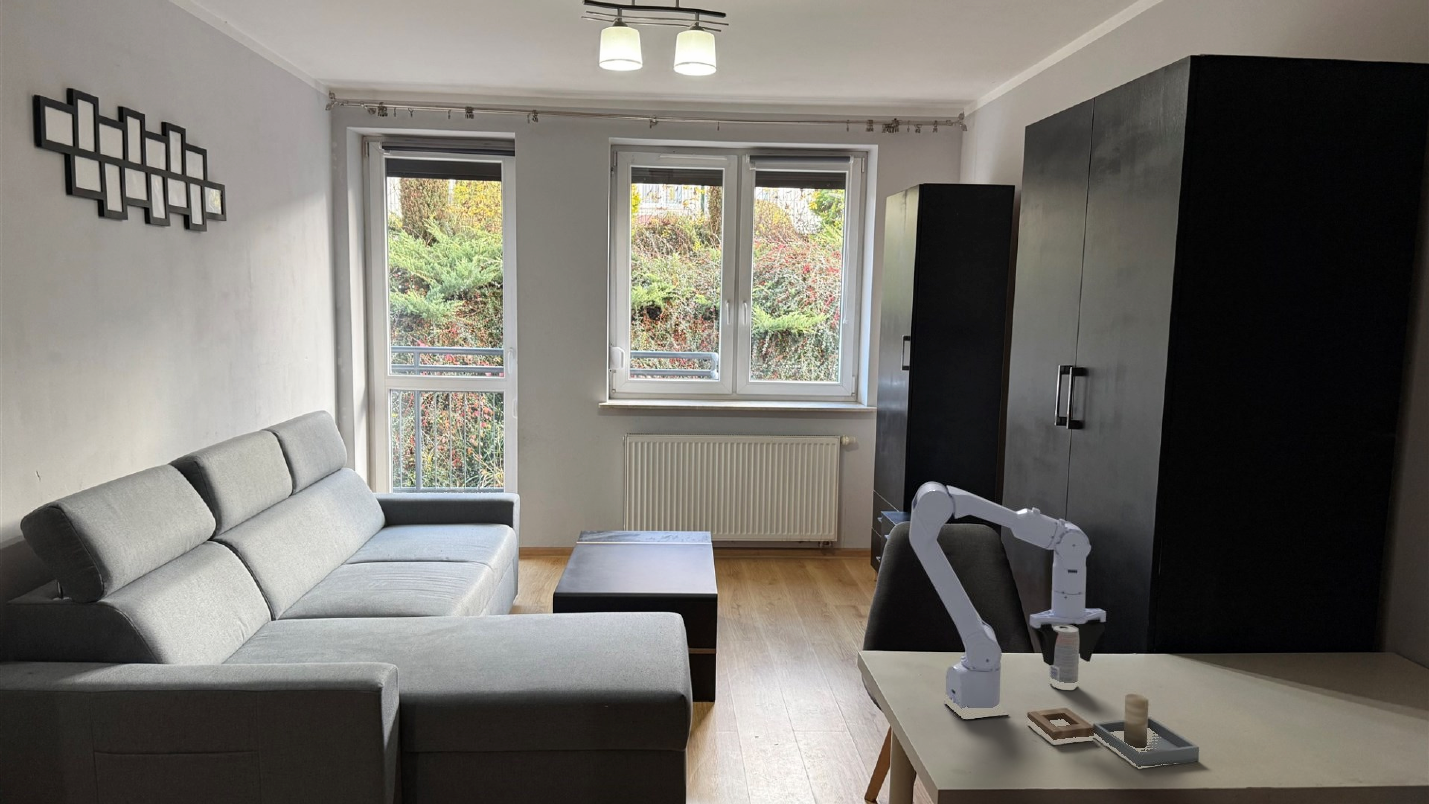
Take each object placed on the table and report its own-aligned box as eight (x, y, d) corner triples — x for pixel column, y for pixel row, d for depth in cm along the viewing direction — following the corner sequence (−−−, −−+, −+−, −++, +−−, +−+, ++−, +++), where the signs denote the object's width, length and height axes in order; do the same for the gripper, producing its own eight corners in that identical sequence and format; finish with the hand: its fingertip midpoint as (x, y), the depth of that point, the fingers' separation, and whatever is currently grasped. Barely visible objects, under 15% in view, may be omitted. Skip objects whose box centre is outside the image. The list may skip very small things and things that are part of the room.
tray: (1137, 769, 143) (1138, 754, 143) (1092, 737, 155) (1093, 723, 154) (1198, 761, 146) (1199, 747, 146) (1149, 730, 157) (1150, 716, 157)
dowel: (1133, 749, 149) (1135, 704, 148) (1118, 739, 152) (1120, 695, 152) (1151, 747, 150) (1153, 701, 149) (1136, 737, 153) (1138, 693, 152)
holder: (1053, 745, 151) (1053, 732, 151) (1027, 725, 159) (1027, 712, 159) (1093, 740, 153) (1094, 727, 153) (1066, 720, 161) (1066, 707, 161)
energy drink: (1073, 681, 179) (1074, 624, 178) (1081, 692, 174) (1083, 633, 173) (1046, 680, 180) (1047, 623, 178) (1053, 690, 174) (1055, 632, 173)
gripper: (1046, 599, 156) (1044, 673, 157) (1117, 593, 159) (1115, 665, 160) (1023, 588, 162) (1022, 659, 164) (1092, 582, 166) (1090, 652, 167)
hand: (1066, 661), depth 162 cm, fingers open, 7 cm apart
